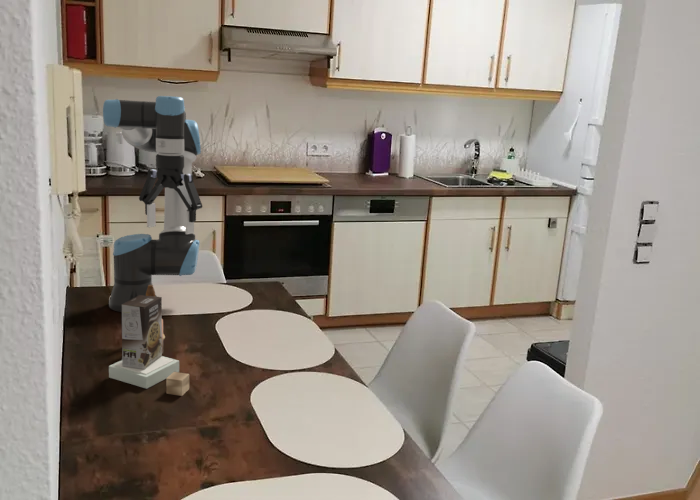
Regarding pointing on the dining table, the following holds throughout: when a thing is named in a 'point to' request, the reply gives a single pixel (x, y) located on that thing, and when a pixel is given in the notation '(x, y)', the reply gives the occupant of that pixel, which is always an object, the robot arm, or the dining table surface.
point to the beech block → (177, 383)
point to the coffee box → (141, 331)
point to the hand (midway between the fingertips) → (170, 230)
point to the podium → (144, 372)
